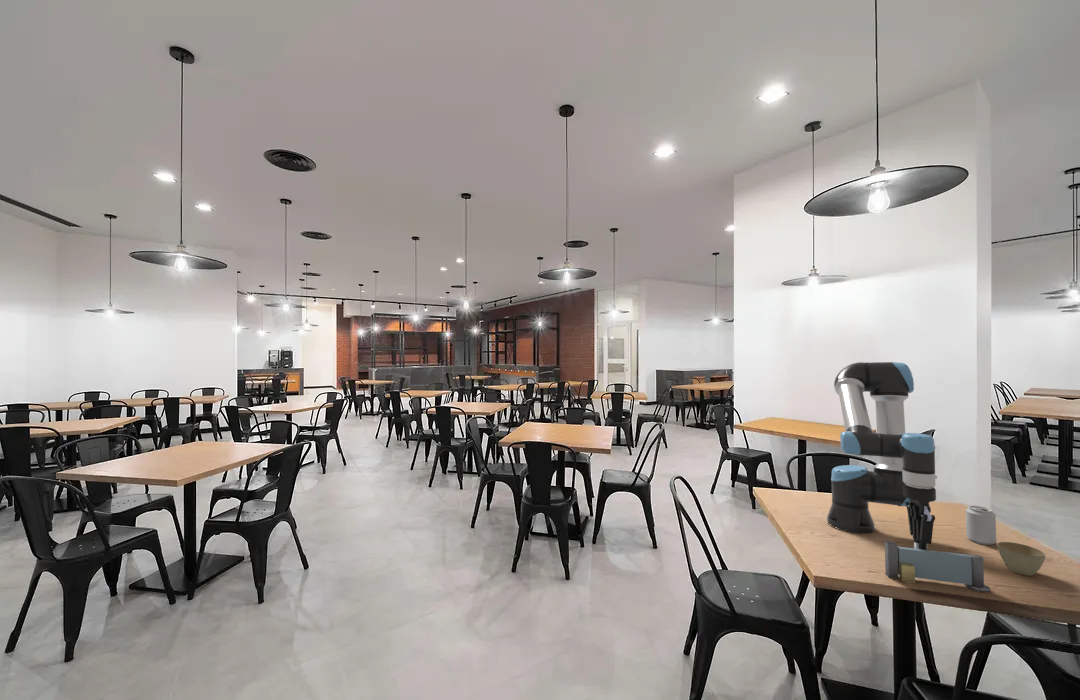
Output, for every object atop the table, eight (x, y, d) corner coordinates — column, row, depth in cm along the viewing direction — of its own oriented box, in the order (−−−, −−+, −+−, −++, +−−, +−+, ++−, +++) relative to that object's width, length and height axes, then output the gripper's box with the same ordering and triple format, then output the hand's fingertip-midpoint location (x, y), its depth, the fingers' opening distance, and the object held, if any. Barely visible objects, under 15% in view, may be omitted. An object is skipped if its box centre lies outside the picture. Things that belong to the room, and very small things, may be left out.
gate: (980, 583, 124) (979, 555, 125) (986, 587, 122) (985, 559, 122) (896, 572, 131) (895, 545, 131) (900, 576, 129) (899, 549, 129)
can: (1002, 546, 150) (1001, 512, 150) (977, 545, 152) (976, 510, 152) (985, 538, 158) (984, 504, 158) (961, 536, 159) (960, 503, 159)
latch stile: (891, 580, 128) (890, 546, 128) (885, 573, 132) (884, 540, 132) (914, 583, 126) (914, 549, 126) (908, 576, 130) (907, 543, 130)
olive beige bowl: (988, 564, 137) (987, 542, 137) (1016, 563, 138) (1015, 540, 138) (1026, 581, 127) (1025, 556, 127) (1056, 579, 128) (1055, 554, 128)
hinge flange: (965, 588, 123) (965, 585, 123) (964, 581, 127) (964, 579, 127) (990, 594, 120) (990, 591, 120) (988, 587, 124) (988, 584, 124)
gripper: (945, 492, 124) (948, 575, 123) (924, 480, 136) (926, 555, 135) (913, 490, 126) (915, 571, 126) (895, 478, 138) (897, 552, 138)
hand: (921, 563), depth 131 cm, fingers closed
